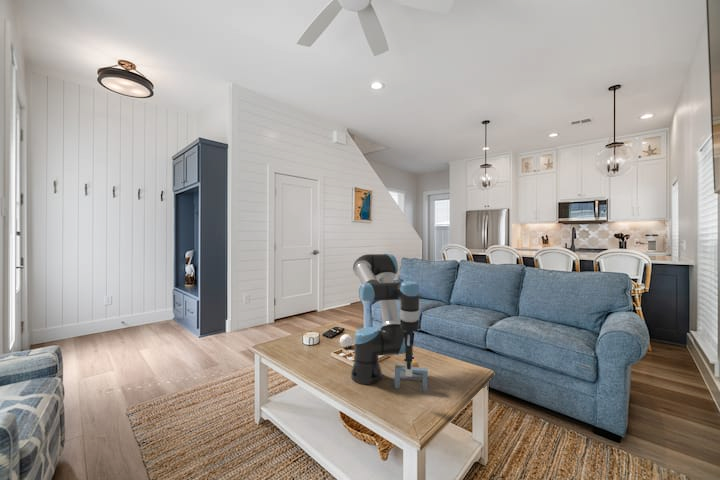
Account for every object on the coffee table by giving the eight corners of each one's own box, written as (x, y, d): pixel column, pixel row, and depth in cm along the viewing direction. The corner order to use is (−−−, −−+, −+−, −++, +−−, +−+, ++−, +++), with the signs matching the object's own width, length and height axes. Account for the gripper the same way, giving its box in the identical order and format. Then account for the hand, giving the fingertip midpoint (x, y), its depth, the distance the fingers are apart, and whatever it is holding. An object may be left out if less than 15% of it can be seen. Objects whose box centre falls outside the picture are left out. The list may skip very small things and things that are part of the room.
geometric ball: (342, 351, 190) (335, 341, 190) (349, 343, 196) (342, 333, 196) (350, 348, 185) (342, 338, 185) (357, 340, 191) (349, 330, 191)
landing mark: (398, 378, 150) (398, 378, 150) (400, 366, 162) (400, 366, 162) (425, 381, 147) (425, 381, 147) (426, 369, 160) (426, 369, 160)
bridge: (427, 391, 138) (427, 371, 138) (394, 387, 141) (394, 368, 141) (427, 388, 141) (427, 368, 141) (395, 384, 144) (395, 365, 144)
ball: (408, 372, 159) (407, 371, 154) (408, 360, 161) (407, 359, 156) (419, 373, 158) (418, 372, 153) (419, 361, 160) (418, 360, 155)
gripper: (418, 325, 120) (417, 384, 121) (419, 315, 133) (418, 369, 134) (398, 323, 122) (398, 382, 123) (401, 314, 134) (401, 367, 136)
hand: (408, 375), depth 128 cm, fingers closed
